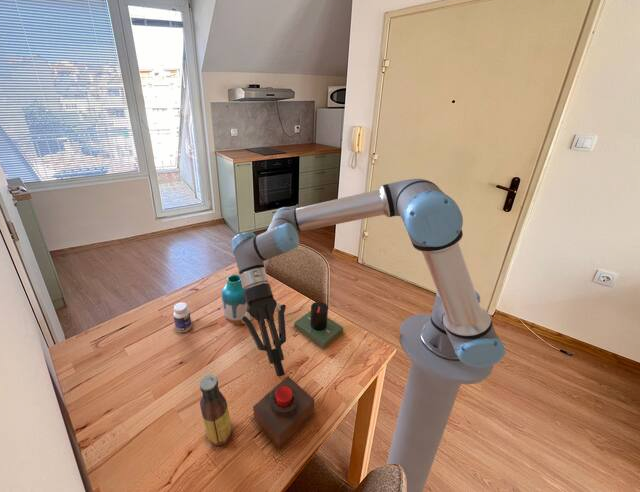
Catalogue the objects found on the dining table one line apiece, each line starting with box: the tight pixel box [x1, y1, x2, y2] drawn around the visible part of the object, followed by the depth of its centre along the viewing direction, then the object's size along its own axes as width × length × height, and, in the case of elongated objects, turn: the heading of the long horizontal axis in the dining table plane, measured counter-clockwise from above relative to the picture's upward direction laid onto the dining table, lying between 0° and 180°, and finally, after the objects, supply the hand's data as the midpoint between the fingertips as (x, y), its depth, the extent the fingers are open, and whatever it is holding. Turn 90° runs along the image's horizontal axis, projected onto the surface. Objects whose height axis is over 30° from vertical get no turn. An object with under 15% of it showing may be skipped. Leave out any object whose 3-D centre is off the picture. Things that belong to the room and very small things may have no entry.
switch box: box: [252, 375, 315, 450], centre depth 78 cm, size 13×10×8 cm
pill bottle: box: [172, 301, 192, 333], centre depth 108 cm, size 6×6×10 cm
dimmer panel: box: [293, 310, 344, 350], centre depth 108 cm, size 14×11×3 cm
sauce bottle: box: [199, 374, 232, 446], centre depth 72 cm, size 6×6×20 cm
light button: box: [276, 386, 292, 407], centre depth 76 cm, size 4×4×2 cm
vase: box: [221, 274, 247, 325], centre depth 110 cm, size 11×11×19 cm
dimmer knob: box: [310, 301, 329, 331], centre depth 105 cm, size 6×6×8 cm
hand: (280, 375), depth 75 cm, fingers closed
